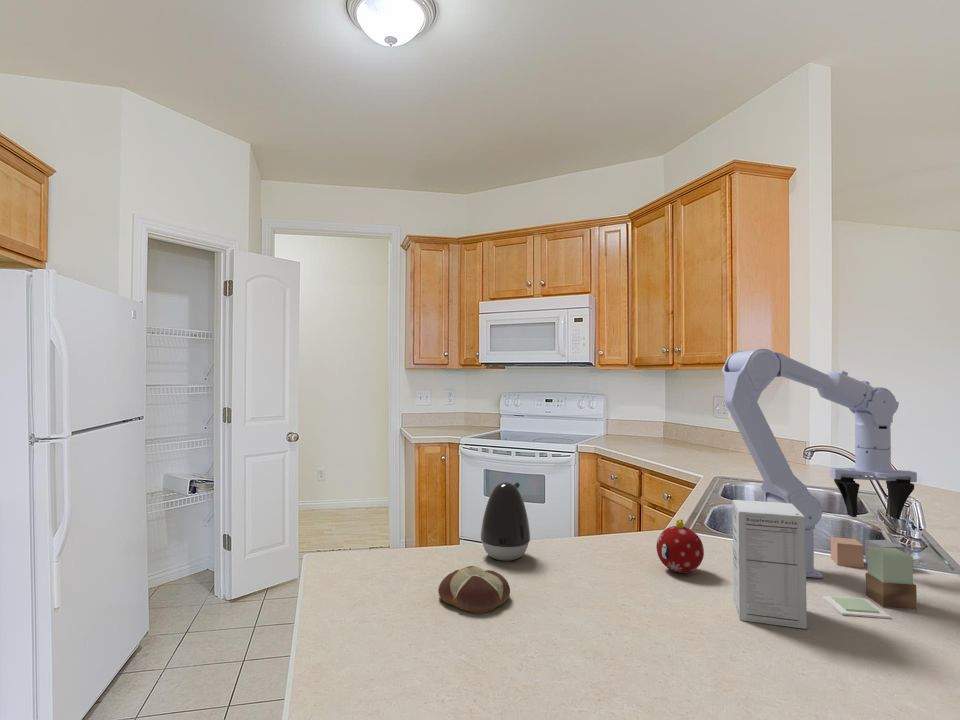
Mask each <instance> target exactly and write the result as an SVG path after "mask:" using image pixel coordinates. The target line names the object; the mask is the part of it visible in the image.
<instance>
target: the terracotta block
mask: <svg viewBox="0 0 960 720" xmlns="http://www.w3.org/2000/svg"><path fill="white" fill-rule="evenodd" d="M864 555H865V553H864V544H862V543H861V542H859V541H858V539H856V538H854V539H853V538H845V537H844V538H843V537H833V536H830V559H831V560H832V561H833V562H834V563H835V564H836V566H842V567H849V568H860V569H864V561H865V560H864Z"/></svg>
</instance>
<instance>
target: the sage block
mask: <svg viewBox="0 0 960 720" xmlns="http://www.w3.org/2000/svg"><path fill="white" fill-rule="evenodd" d="M913 560H914V557H913V556H912V555H911V554H908V553H907V552H905V551H904V552H902V551H900V550H898V549H896V548H879V547H867V562H866V563H867V573H868V574H870V575H871V576H873V577H875V578H876V579H878V580H880V581H881V582H883V583H896V584H914V561H913Z"/></svg>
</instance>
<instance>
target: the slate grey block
mask: <svg viewBox="0 0 960 720" xmlns="http://www.w3.org/2000/svg"><path fill="white" fill-rule="evenodd" d="M864 543H865V549H864V550H865V552H864V555H865V560H864V561H865V563H867V547H879V548H896V549H898V550H900V551H902V552H904V553H905V546H904V545H901V544H898V543H895V542H893V541H890V540H887V539H865V542H864Z"/></svg>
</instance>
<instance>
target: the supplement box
mask: <svg viewBox="0 0 960 720" xmlns="http://www.w3.org/2000/svg"><path fill="white" fill-rule="evenodd" d="M731 505H732V506H731V507H732V560H733V561H732V562H733V563H732V568H733V572H732V573H733V576H732V577H733V602H734V606H735V608H736V613H737V615H738V619H739V621H744V622H752V623H758V624H767V625H773V626H782V627H789V628H796V629H803V630H807V629H808V616H807V615H808V613H807V611H808V610H807V605H808V604H807V577H806V555H805V517H804V515H803V514H802V513H801V512H800V511H799V510H798V509H797V508H796V507H795V506H794V505H793V504H790V503H776V502H764V501H759V500H758V501H757V500H741V499H732V503H731Z"/></svg>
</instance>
